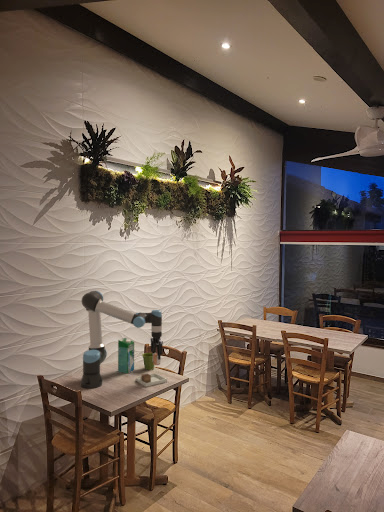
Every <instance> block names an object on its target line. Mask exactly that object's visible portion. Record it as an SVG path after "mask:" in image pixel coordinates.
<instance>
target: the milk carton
mask: <svg viewBox="0 0 384 512" xmlns="http://www.w3.org/2000/svg"><path fill="white" fill-rule="evenodd" d="M117 343H118V344H117V349H118V350H117V372H118V373H122V372H123V374H130V373H131V371H132V372H134V371H135V341H133V340H131V339H129V338H127V337H123V338H119V339H118V340H117ZM133 370H134V371H133ZM129 372H130V373H129Z"/></svg>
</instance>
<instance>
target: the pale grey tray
mask: <svg viewBox="0 0 384 512" xmlns="http://www.w3.org/2000/svg"><path fill="white" fill-rule="evenodd" d="M149 375H151V382H149V383H145V382H144V381H142V380H141V375H140V376H136V377H135V382H137V383H138V384H140V385H142V386H144V387H145V388H149V387H152V386H156V385H161V384H160V383H162V384H165V382H166V383H167V382H168V379H167V378H166V377H164V376H162V375H161V374H158V373H157V372H155V373H150V374H149Z"/></svg>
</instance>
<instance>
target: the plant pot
mask: <svg viewBox="0 0 384 512" xmlns="http://www.w3.org/2000/svg"><path fill="white" fill-rule="evenodd" d="M141 356H142V359H143V364H144V366H143V367H144V369H145V370H149V371H150V370H154V369H155V365H154V364H153V353H152V352H145V353H142V354H141Z"/></svg>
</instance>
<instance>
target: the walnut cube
mask: <svg viewBox="0 0 384 512" xmlns="http://www.w3.org/2000/svg"><path fill="white" fill-rule="evenodd" d="M140 376H141V380H142V381H144V382H145V383H149V382H151V375H150V374H149V373H144V374H141V375H140Z"/></svg>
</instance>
